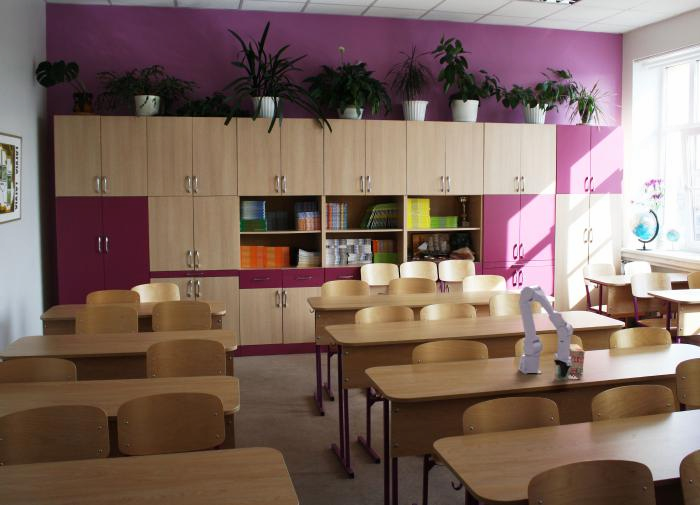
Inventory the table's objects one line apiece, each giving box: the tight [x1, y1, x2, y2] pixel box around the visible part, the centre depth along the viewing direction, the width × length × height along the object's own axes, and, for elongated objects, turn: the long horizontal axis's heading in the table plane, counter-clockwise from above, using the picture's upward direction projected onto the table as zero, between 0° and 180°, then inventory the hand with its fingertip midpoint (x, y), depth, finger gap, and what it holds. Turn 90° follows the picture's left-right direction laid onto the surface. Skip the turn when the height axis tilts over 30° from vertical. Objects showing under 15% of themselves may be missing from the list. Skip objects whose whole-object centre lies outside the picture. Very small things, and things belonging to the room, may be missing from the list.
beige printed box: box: [569, 343, 585, 374], centre depth 366 cm, size 21×6×12 cm, turn 179°
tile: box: [554, 364, 570, 380], centre depth 346 cm, size 6×2×7 cm, turn 100°
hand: (561, 375), depth 346 cm, fingers open, 3 cm apart
